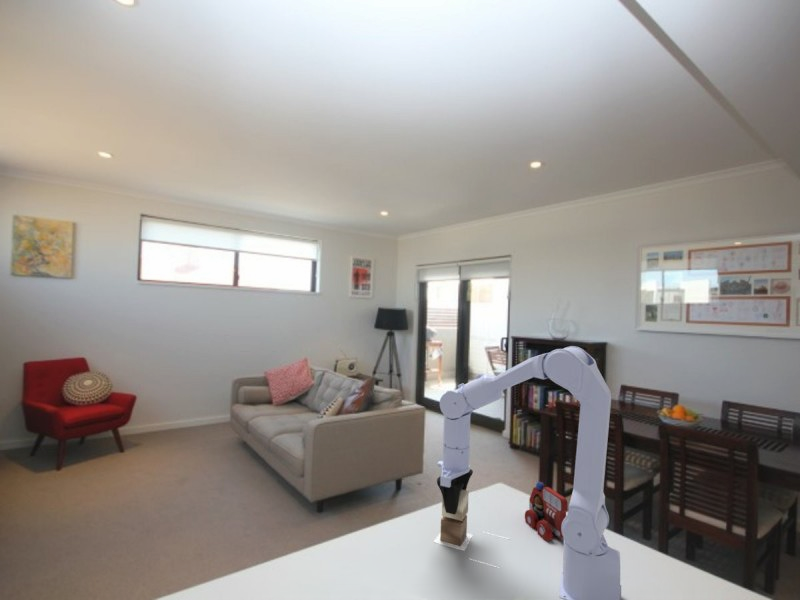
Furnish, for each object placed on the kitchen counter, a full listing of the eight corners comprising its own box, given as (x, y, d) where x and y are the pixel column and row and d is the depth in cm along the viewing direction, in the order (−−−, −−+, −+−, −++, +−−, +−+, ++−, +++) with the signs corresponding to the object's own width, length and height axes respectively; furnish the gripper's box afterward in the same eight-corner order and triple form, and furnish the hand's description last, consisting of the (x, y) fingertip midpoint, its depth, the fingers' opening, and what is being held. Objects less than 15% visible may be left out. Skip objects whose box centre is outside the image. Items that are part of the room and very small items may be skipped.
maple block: (468, 511, 91) (468, 491, 91) (462, 521, 87) (462, 499, 87) (448, 506, 93) (449, 486, 93) (441, 515, 89) (442, 494, 89)
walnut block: (466, 535, 91) (467, 515, 91) (460, 546, 87) (461, 524, 87) (446, 530, 93) (447, 510, 93) (440, 540, 89) (440, 519, 89)
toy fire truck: (544, 517, 102) (545, 474, 102) (578, 545, 90) (579, 497, 90) (519, 519, 100) (520, 476, 101) (550, 549, 88) (551, 500, 89)
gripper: (449, 433, 99) (447, 490, 99) (427, 451, 86) (425, 518, 85) (478, 438, 96) (476, 497, 96) (460, 458, 83) (458, 526, 82)
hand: (454, 507), depth 90 cm, fingers closed on maple block, 4 cm apart
